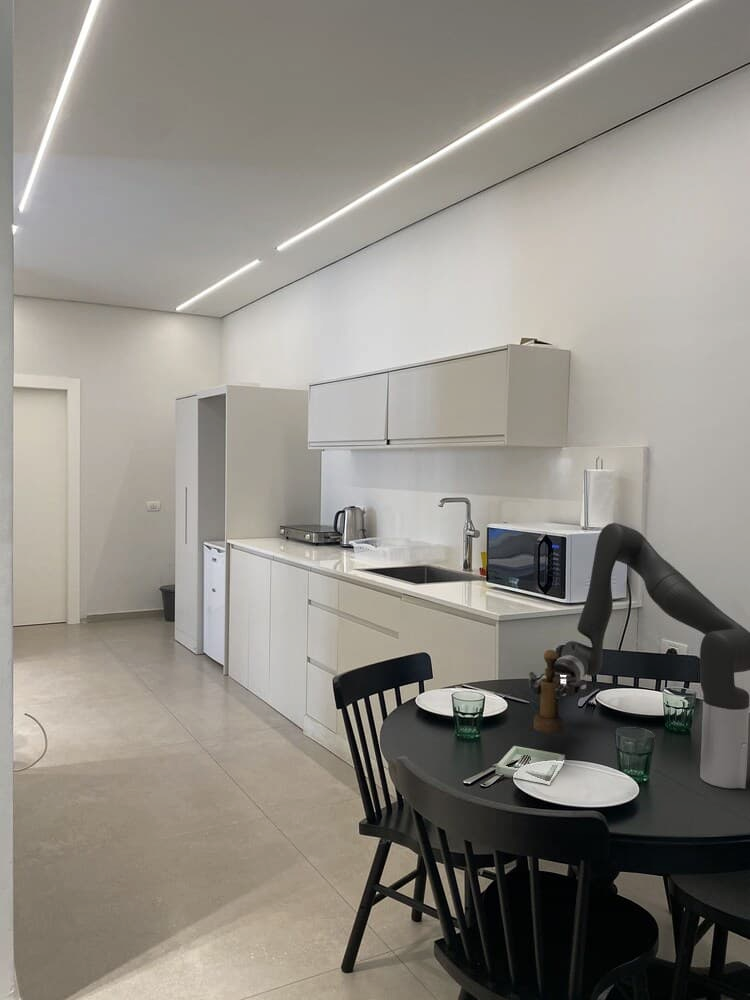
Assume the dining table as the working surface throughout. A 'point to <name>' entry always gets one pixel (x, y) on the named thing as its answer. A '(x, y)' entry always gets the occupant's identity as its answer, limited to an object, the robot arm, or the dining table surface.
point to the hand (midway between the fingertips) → (546, 692)
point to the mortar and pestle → (549, 699)
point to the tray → (535, 757)
